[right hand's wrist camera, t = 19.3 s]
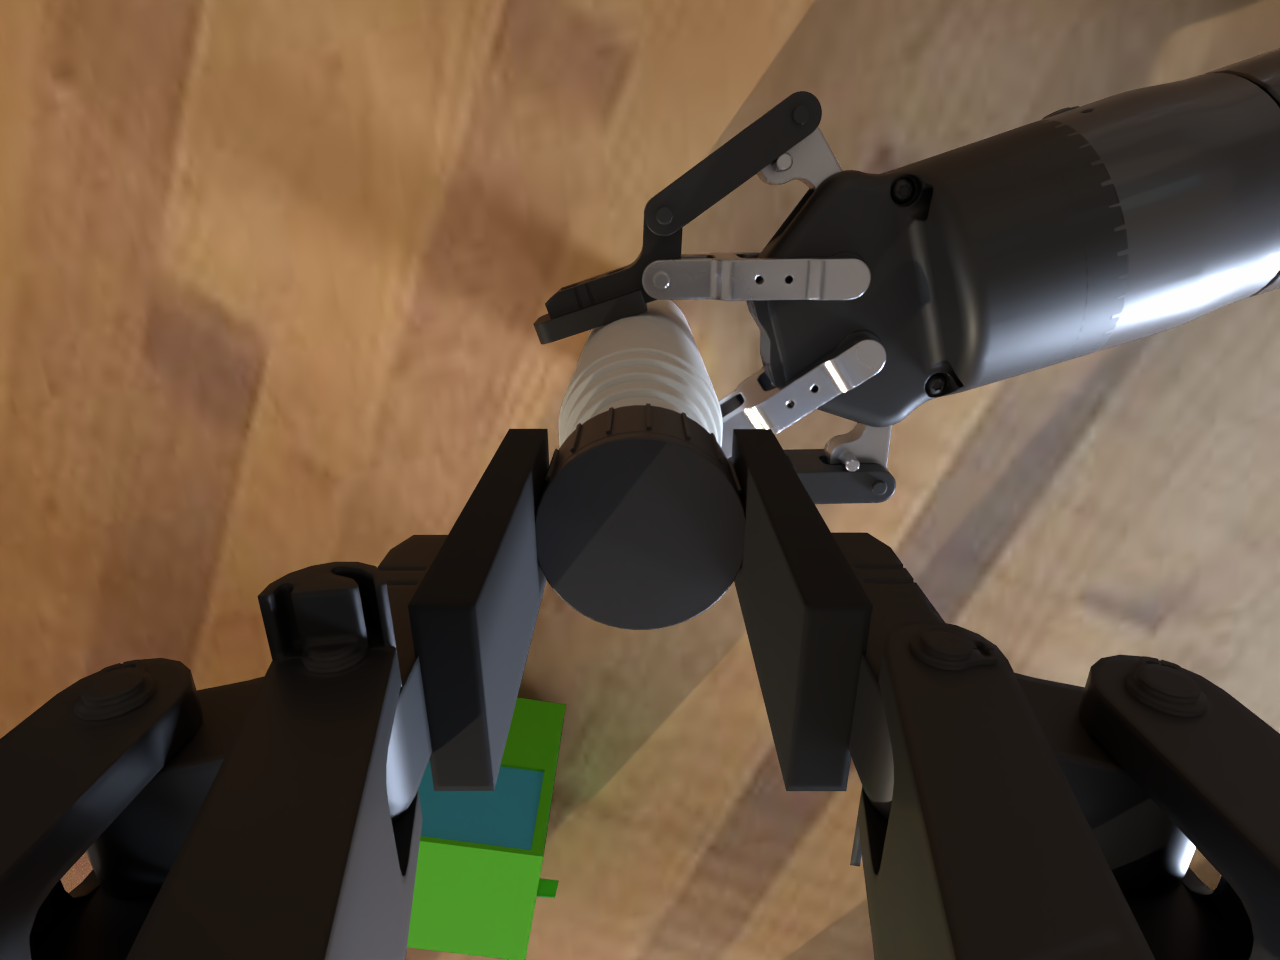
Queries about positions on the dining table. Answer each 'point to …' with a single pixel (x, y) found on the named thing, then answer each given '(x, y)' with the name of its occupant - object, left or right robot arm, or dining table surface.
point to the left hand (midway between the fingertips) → (567, 398)
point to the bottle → (642, 371)
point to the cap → (640, 519)
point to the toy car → (489, 847)
